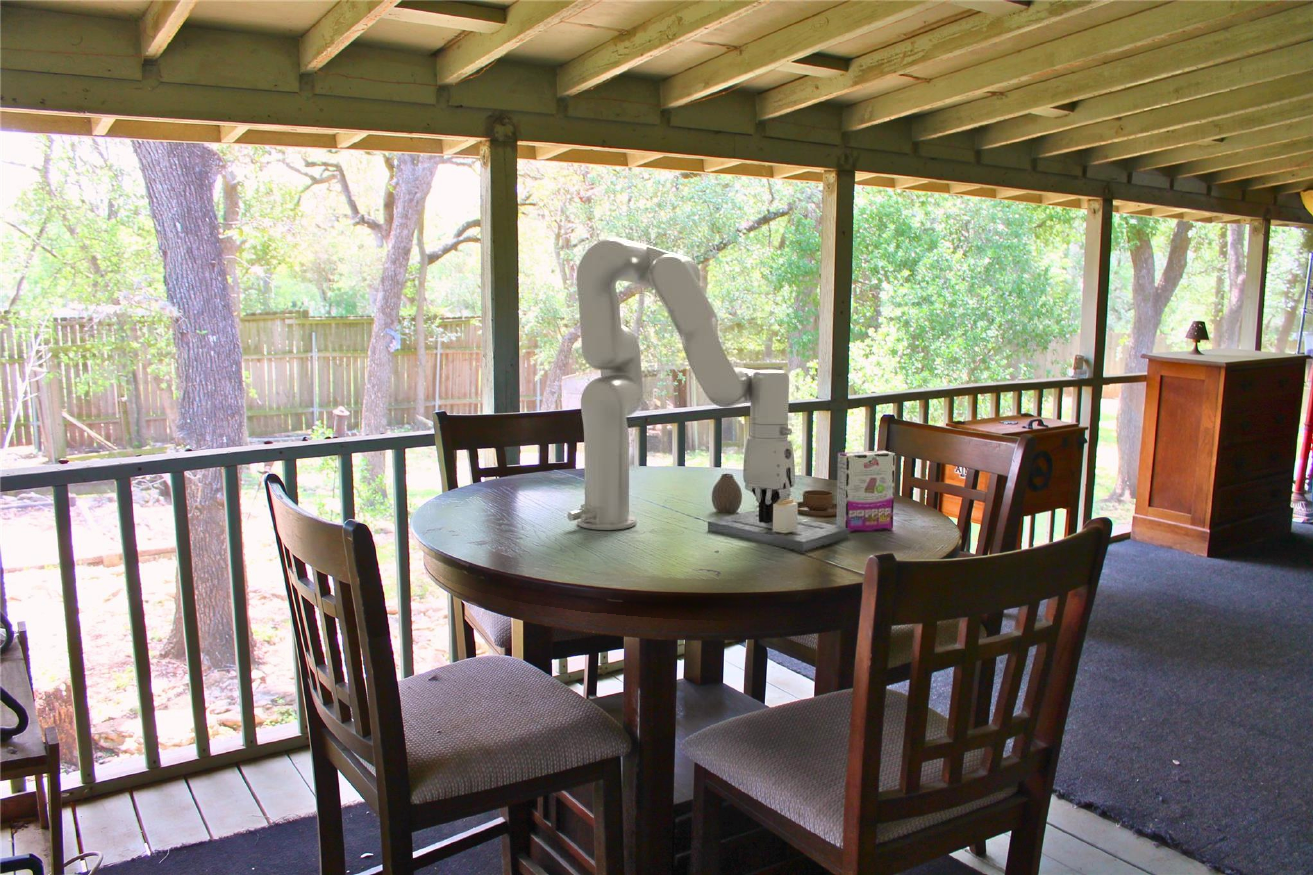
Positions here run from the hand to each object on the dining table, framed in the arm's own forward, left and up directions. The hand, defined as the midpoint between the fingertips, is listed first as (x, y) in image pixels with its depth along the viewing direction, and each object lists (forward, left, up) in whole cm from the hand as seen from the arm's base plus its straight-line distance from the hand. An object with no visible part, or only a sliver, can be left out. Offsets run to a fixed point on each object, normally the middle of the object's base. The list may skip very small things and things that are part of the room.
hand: (766, 521), depth 184 cm
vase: (+13, +21, -4) cm, 25 cm away
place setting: (+30, +11, -4) cm, 32 cm away
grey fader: (+8, +3, -1) cm, 9 cm away
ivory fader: (0, -5, -1) cm, 5 cm away
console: (+4, 0, -3) cm, 5 cm away
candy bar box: (+21, -10, -4) cm, 23 cm away
